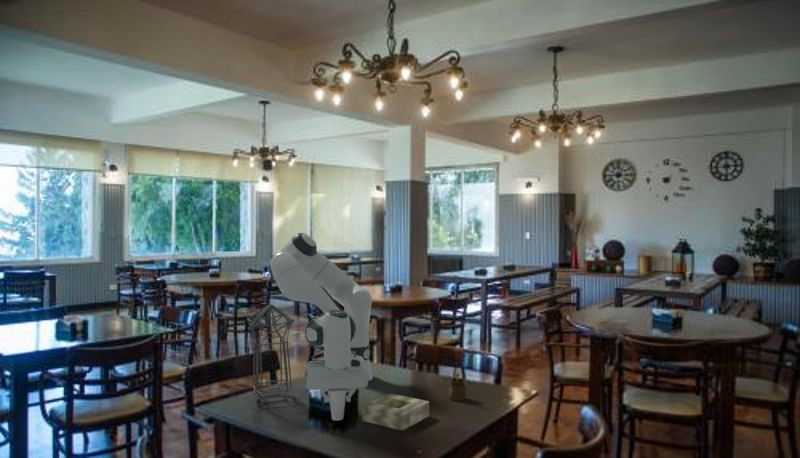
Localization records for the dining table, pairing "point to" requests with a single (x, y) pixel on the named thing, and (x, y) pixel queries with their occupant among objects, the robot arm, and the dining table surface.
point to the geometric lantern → (270, 344)
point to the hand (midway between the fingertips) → (337, 401)
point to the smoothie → (337, 403)
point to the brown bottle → (457, 388)
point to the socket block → (395, 411)
